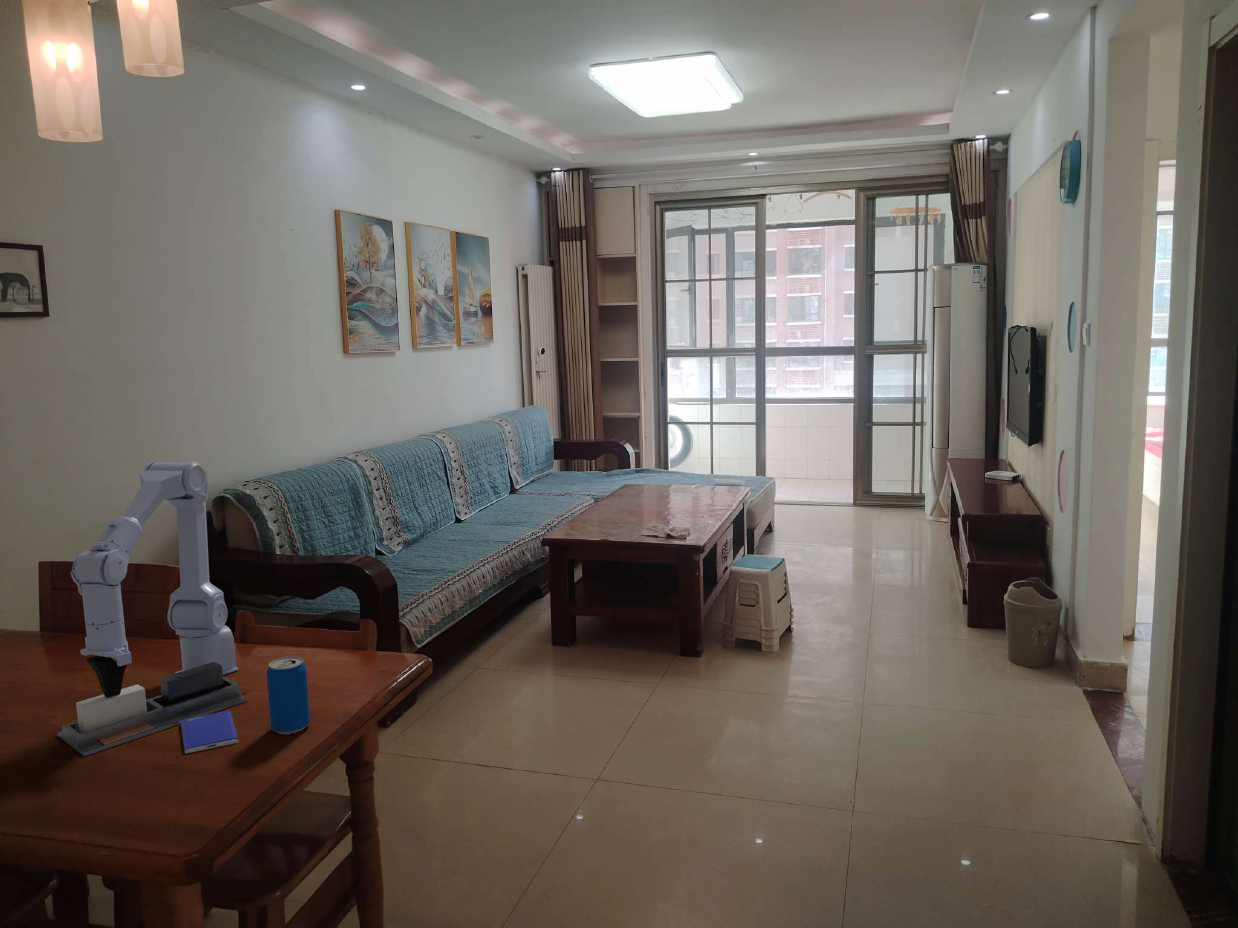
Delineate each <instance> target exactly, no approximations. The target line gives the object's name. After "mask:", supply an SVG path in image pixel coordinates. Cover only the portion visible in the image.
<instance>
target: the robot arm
mask: <svg viewBox="0 0 1238 928" xmlns="http://www.w3.org/2000/svg"><path fill="white" fill-rule="evenodd" d="M139 482H140V487H139V489H138V490H137V492H136V494H135V496H134V497H133V499H132V501H131V502H130V504H129V506H128V507H127V508H126V510H125V513H124V514H123V516H121V517H120V516H119V517H114V518H113V519H111V520H110V521H109V523H108V524H107V526H106V528H105V529H104V531H103V532H102V533H101V535H100V536H98V538H97V540H96V541H95V542H94V544H93V545H92V547H91V548H90V549H89V550H86V551H83V552H82V553H80V554H79V555H78V556H76V558H75V559H74V560H73V563H72V570H71V571H70V577H71V578H72V581H73V582H74V583H75V584H76V586H77V591H78V594H80V596H82V603H83V605H82V606H83V613H84V622H85V633H86V636H85V637H84V641H85V648H82V649H80V654H81V655H82V656H91V657H88V658H87V659H86V663H88V664H89V666H90V667H91V668H92V670H93V672H94V673H95V675H96V677H97V680H98V682H99V686H100V688H101V691H102V693H103V694H104V696H105V697H107V698H109V697H113V696H116V695H119V694H120V693H121V689H123V688H122V687H123V681H124V675H125V673H126V669H127V666H128V665H129V664H133V662H132V660H133V659H132V652H131V651H130V650H129V645H128V644H129V643H128V640H127V638H126V629H125V628H126V627H125V617H124V609H123V599H122V589H121V587H122V586H121V582H122V581H123V580H124V579H125V578H126V575H127V572H128V565H129V563H130V558H131V557H130V556H131V554H132V553H133V551H134V550H135V549H136V547H137V546H138V544H139V543H140V541H141V540H142V539H143V537H144V530H143V528H142V527H143V525H144V524H145V523H146V522H147V521H148V520H149V518H150V517H151V516H152V515H153V514H154V513H155V511H156V510H157V509H158V508H159V506H160V505H161V504H162V503H163V502H164V501H167V502H168V503H170V504H171V505H172V506H173V507H174V508H175V509H176V522H177V524H176V526H177V541H178V543H177V544H178V547H177V548H178V561H179V566H178V567H179V580H180V584H179V585H180V586H179V587H178V588H177V589H175V590H174V591H173V592H172V593H171V594H170V595H169V607H168V611H167V617H166V618H167V622H168V624H169V627H170V628H171V629H172V630H174V631H175V636H176V635H179V643H180V655H181V663H182V664H181V666H182V670H179V671H176V672H175V673H178V672H181V671H185V670H188V669H191V668H195V667H198V666H202V665H205V664H208V663H212V662H216V663H218V664H220V665H222V673H223V676H224V675H226V674H230V673H233V672H235V671H239V668H238V667H237V660H236V659H237V658H236V649H235V639H234V635H233V632H232V630H231V629H230V628H229V626H227V625H226V622H227V619H228V613H229V611H228V608H227V604H226V602H225V596H224V592H223V590H222V589H220V588H218V587H217V586H215V585H214V584H212V583H211V582H210V568H209V566H210V565H209V563H210V562H209V547H208V545H209V544H208V526H207V505H206V504H207V503H206V502H207V501H208V500H209V486H208V482H209V481H208V470H206V468H205V467H204V466H203V465H201V464H200V462H198V461H191V462H163V461H162V462H159V461H150V462H148V463H147V464H146V465H145V467H144V469H143V471H142V472H141V473H140V474H139ZM175 673H174V674H175ZM103 694H102V695H103Z"/></svg>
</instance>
